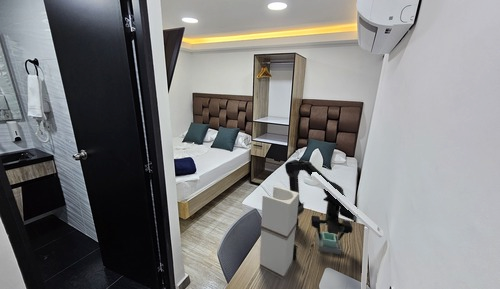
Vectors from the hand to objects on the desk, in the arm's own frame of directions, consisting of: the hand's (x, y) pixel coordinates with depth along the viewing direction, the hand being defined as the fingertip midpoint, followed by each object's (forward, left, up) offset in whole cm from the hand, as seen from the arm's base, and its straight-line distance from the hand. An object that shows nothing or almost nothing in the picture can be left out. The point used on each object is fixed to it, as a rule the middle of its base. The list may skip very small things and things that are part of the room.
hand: (328, 238), depth 102 cm
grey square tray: (0, 0, -4) cm, 4 cm away
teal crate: (0, 0, -4) cm, 4 cm away
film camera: (-22, -10, -4) cm, 25 cm away
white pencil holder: (-24, -20, -4) cm, 31 cm away
